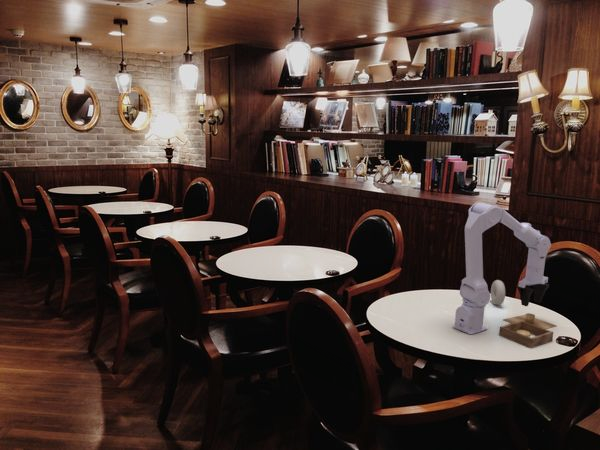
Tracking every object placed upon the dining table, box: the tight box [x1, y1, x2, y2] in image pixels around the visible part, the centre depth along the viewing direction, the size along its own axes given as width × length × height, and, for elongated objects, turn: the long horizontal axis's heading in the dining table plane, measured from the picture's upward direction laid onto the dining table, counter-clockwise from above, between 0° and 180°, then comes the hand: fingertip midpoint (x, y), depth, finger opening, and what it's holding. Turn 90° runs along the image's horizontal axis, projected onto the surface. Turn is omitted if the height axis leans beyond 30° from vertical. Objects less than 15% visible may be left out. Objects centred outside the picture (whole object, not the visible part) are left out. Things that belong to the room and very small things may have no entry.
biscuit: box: [516, 330, 531, 337], centre depth 182 cm, size 4×4×1 cm
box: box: [498, 321, 554, 349], centre depth 178 cm, size 12×12×3 cm
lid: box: [502, 312, 557, 330], centre depth 192 cm, size 13×13×4 cm
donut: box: [490, 279, 506, 306], centre depth 211 cm, size 10×4×10 cm, turn 177°
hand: (531, 303), depth 191 cm, fingers open, 7 cm apart
